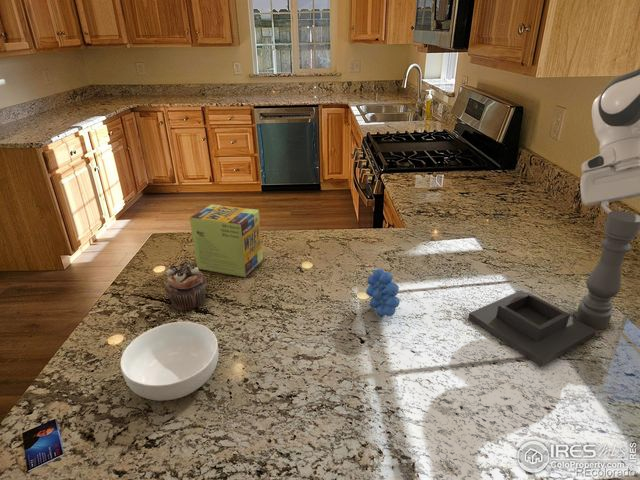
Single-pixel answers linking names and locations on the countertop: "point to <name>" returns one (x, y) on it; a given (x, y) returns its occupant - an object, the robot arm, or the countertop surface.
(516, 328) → the display stand
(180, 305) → the cupcake
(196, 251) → the protein box
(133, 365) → the cereal bowl
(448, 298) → the countertop surface
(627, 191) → the robot arm
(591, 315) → the candle holder
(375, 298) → the grapes
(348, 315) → the countertop surface
